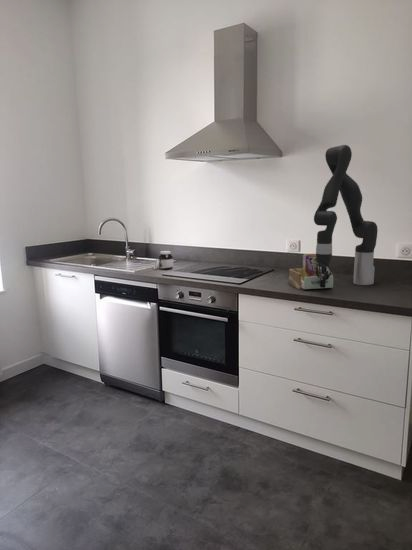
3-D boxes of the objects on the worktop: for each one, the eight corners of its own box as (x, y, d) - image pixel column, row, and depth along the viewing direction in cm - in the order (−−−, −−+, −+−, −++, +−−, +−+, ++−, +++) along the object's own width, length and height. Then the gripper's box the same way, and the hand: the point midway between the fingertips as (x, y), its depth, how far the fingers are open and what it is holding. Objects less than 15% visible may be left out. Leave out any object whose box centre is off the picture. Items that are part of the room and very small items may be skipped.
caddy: (319, 281, 225) (320, 267, 223) (331, 287, 211) (332, 272, 210) (288, 283, 222) (289, 269, 220) (298, 289, 209) (299, 274, 207)
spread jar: (175, 269, 268) (174, 251, 266) (161, 271, 261) (160, 253, 258) (164, 267, 277) (163, 249, 274) (150, 269, 269) (149, 251, 267)
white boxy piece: (321, 281, 220) (322, 270, 219) (334, 288, 206) (334, 276, 205) (294, 283, 217) (294, 272, 216) (305, 289, 203) (306, 277, 202)
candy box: (318, 281, 217) (319, 253, 214) (321, 283, 213) (322, 254, 210) (301, 282, 216) (302, 253, 213) (304, 284, 212) (305, 254, 209)
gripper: (337, 254, 193) (336, 289, 196) (324, 250, 206) (323, 283, 209) (322, 254, 192) (321, 290, 195) (310, 250, 204) (309, 284, 208)
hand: (322, 287), depth 202 cm, fingers closed
